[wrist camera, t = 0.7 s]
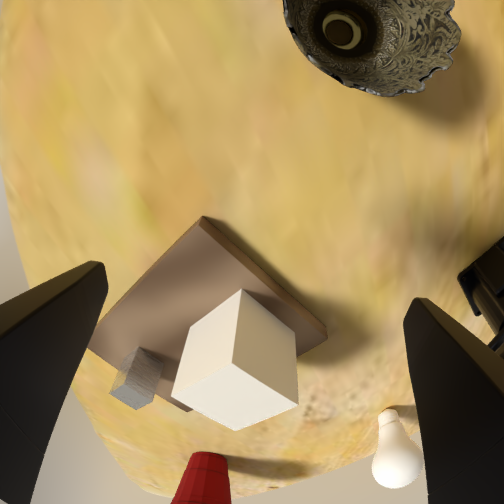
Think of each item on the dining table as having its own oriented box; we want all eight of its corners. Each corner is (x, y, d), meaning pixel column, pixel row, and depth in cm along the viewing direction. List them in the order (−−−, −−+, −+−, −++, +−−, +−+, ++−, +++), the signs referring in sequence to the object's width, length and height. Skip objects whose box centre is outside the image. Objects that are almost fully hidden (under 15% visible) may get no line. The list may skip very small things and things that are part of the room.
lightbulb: (364, 402, 33) (378, 485, 23) (413, 392, 32) (434, 470, 22) (361, 425, 36) (371, 498, 26) (405, 416, 35) (421, 486, 25)
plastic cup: (246, 449, 40) (240, 522, 30) (239, 471, 46) (234, 531, 36) (173, 438, 40) (158, 509, 30) (178, 462, 46) (166, 521, 35)
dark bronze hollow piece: (338, -38, 13) (372, -91, 6) (417, 46, 15) (488, 39, 8) (251, 28, 16) (239, -5, 9) (336, 111, 18) (375, 132, 11)
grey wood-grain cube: (164, 363, 28) (152, 401, 24) (148, 374, 30) (136, 410, 26) (138, 346, 27) (123, 383, 24) (124, 357, 29) (109, 393, 25)
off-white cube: (294, 332, 25) (298, 405, 19) (242, 363, 28) (235, 431, 21) (241, 288, 23) (231, 363, 17) (190, 327, 26) (170, 396, 20)
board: (325, 326, 27) (327, 339, 25) (189, 401, 34) (187, 412, 33) (202, 215, 22) (198, 225, 21) (88, 334, 29) (82, 344, 28)
